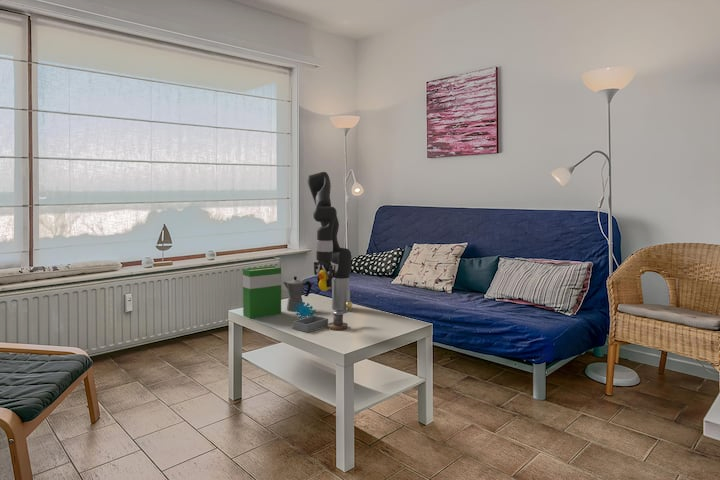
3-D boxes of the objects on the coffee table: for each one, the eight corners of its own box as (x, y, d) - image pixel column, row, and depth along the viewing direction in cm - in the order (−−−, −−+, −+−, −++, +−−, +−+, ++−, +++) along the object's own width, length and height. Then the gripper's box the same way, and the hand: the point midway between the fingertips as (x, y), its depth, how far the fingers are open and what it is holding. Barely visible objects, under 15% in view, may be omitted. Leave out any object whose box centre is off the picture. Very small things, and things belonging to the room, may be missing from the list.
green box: (274, 310, 255) (273, 265, 253) (281, 313, 249) (281, 267, 247) (243, 315, 244) (242, 269, 241) (250, 318, 238) (249, 271, 236)
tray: (313, 322, 233) (313, 315, 232) (328, 325, 227) (328, 318, 227) (292, 328, 222) (292, 321, 221) (307, 332, 216) (307, 324, 216)
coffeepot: (281, 311, 253) (281, 277, 252) (284, 307, 263) (284, 274, 261) (310, 312, 253) (310, 278, 251) (312, 307, 262) (313, 275, 260)
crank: (338, 316, 221) (338, 307, 220) (331, 314, 224) (331, 305, 223) (354, 311, 230) (354, 302, 230) (347, 310, 233) (347, 301, 232)
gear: (295, 317, 234) (294, 300, 241) (292, 324, 239) (291, 306, 245) (317, 319, 238) (315, 302, 245) (314, 325, 243) (312, 308, 249)
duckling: (325, 293, 216) (325, 271, 215) (314, 292, 217) (314, 270, 217) (334, 288, 226) (334, 267, 226) (324, 288, 228) (324, 267, 227)
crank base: (337, 323, 231) (337, 311, 230) (351, 327, 225) (351, 314, 225) (324, 327, 224) (324, 315, 223) (339, 331, 218) (339, 318, 218)
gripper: (308, 249, 224) (308, 284, 225) (327, 252, 213) (326, 289, 214) (322, 248, 228) (321, 282, 230) (340, 251, 218) (340, 287, 219)
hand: (324, 285), depth 222 cm, fingers closed on duckling, 6 cm apart
